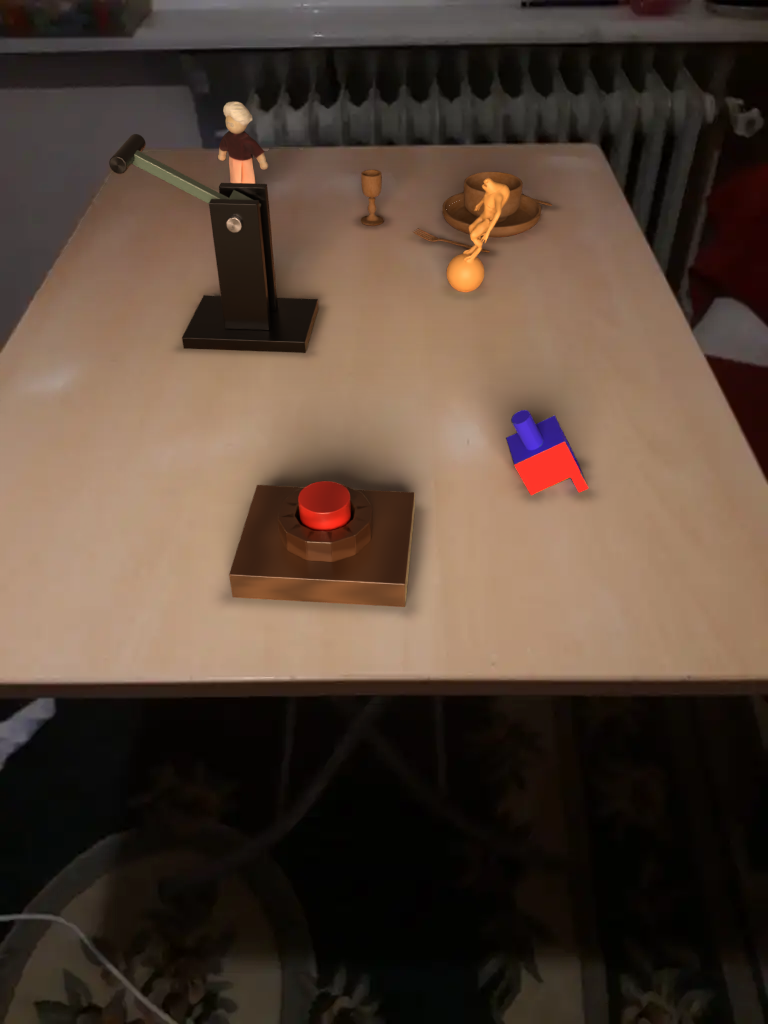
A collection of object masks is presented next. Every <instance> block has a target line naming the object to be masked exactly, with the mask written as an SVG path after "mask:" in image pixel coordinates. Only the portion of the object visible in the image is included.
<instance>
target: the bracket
mask: <svg viewBox="0 0 768 1024" xmlns="http://www.w3.org/2000/svg"><path fill="white" fill-rule="evenodd" d="M233 190H235V191H237V192H239V193H241V194H243V195H245V196H247V197H249V198H251V199H253V200H230V199H211V200H210V202H209V204H208V208H209V215H210V223H211V230H212V240H213V247H214V255H215V262H216V269H217V276H218V286H219V292H220V295H212V294H211V295H209V294H204V295H202V297H201V300H200V302H199V303H198V306H197V308H196V309H195V311H194V313H193V315H192V317H191V319H190V321H189V323H188V325H187V327H186V329H185V331H184V333H183V335H182V337H181V341H182V347H183V349H190V350H216V351H219V350H220V351H243V352H267V353H268V352H269V353H295V354H304V353H305V354H306V352H307V350H308V345H309V342H310V338H311V336H312V332H313V329H314V325H315V322H316V319H317V317H318V316H317V315H318V312H319V309H320V308H319V299H318V298H302V297H278V292H277V291H278V290H277V289H278V288H277V279H276V268H275V257H274V246H273V245H274V244H273V235H272V234H273V233H272V224H271V223H272V222H271V212H270V201H269V200H270V199H269V190H268V183H256V184H255V183H231V182H220V184H219V185H218V193H220V194H222V195H224V196H226V197H228V198H229V197H230V196H231V194H232V192H233ZM259 203H260V204H261V206H260V205H259Z"/></svg>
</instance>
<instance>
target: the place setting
mask: <svg viewBox="0 0 768 1024" xmlns="http://www.w3.org/2000/svg"><path fill="white" fill-rule="evenodd" d="M360 173H361V174H360V182H361V183H360V184H361V191H362V194H363V195H364V196H365V197H366V198H368V199H367V200H368V205H367V212H368V213H369V214H368V215H365V216H362V217H361V218H360V223H361V224H362V225H364V226H368V227H369V226H371V227H373V226H374V227H376V226H380V225H382V224H383V223H384V221H385V219H384V217H382V216H381V215H377V214H376V211H377V205H376V198H377V197H378V196H380V194H381V192H382V186H383V185H382V183H383V175H382V171H381V170H379V169H364V170H363V171H361V172H360ZM486 178H490V179H491V180H493V181H494V182H496V183H501V184H505V185H507V186H508V187H509V190H510V195H509V198H508V200H507V202H506V203H505V205H504V206H503V208H502V209H501V214H500V217H499V218H498V220H497V222H496V224H495V225H494V227H493V228H492V230H491V231H490V234H489V236H488V238H505V237H507V238H508V237H512V236H516V235H519V234H522V233H524V232H527V231H528V230H530V229H532V228H533V227H534V226H535V225H536V224H537V223H538V222H539V221H540V219H541V216H542V210H543V209H542V205H545V206H549V207H552V206H553V204H552V203H550V202H547V201H543V200H541V199H537V198H533V197H530V196H528V195H526V194H523V187H524V183H523V180H522V179H521V178H519V177H518V176H517V175H514V174H511V173H508V172H503V171H483V172H477V173H473V174H471V175H469V176H467V177H466V178H465V179H464V181H463V191H462V192H458V193H456V194H454V195H451V196H449V197H448V198H447V199H445V200H444V201H443V203H442V207H441V208H442V211H441V212H442V216H443V218H444V220H445V221H446V222H447V223H448V224H449V225H450V226H452V228H454V229H456V230H458V231H460V232H462V233H464V234H467V235H470V232H469V226H470V225H471V224H472V223H473V222H474V221H475V220H476V219H477V218H478V217H479V216H480V215H481V214H482V213H483V211H484V203H483V204H482V206H481V207H480V209H479V208H478V209H479V210H478V209H477V211H476V210H475V208H476V206H477V205H478V204H479V203H480V201H481V200H482V199H483V197H484V195H485V193H486V191H485V190H484V189H483V188H482V185H483V184H484V182H483V181H484V180H485V179H486ZM459 200H460V201H459ZM456 201H457V202H456ZM454 202H455V203H454ZM452 203H453V204H452ZM449 205H450V206H449ZM446 209H447V210H446ZM474 210H475V211H474ZM413 233H414V234H415V235H417V236H419V237H420V238H422V239H424V240H427V241H429V242H439V241H441V242H445V243H448V244H451V245H456V246H459V247H463V248H466V249H471V248H472V247H473V246H474V245H470V244H467V243H462V242H459V241H455V240H450V239H447V238H443V237H437V236H435V235H433V234H430V233H429V232H426V231H425V230H423V229H421V228H417V229H415V230H414V231H413ZM484 233H486V232H484ZM483 236H484V235H482V236H481V238H482V237H483ZM480 252H482V253H490V252H491V251H490V250H488V249H485V248H482V250H481V251H480Z"/></svg>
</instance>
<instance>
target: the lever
mask: <svg viewBox="0 0 768 1024" xmlns="http://www.w3.org/2000/svg"><path fill="white" fill-rule="evenodd" d="M146 145H147V144H146V140H145V137H143V136H142V135H140V134H137V133H134V134H131V135H130V136H129V137H128V138H127V140H126V141H125V142H124V143H123V144H122V145H121V146H120V147H119V149H118V150H117V151H116V152H114V153H113V155H112V156H111V158H110V159H109V161H108V165H109V168H110V169H111V171H112V172H113V173H115V174H119V175H123V174H124V173H126V172H127V170H129V168H130V167H131V165H133V166H135V167H137V168H138V169H140V170H143V171H144V172H146V173H149V174H150V175H152V176H154V177H156V178H158V179H160V180H162V181H164V182H166V183H168V184H170V185H171V186H173V187H175V188H176V189H180V190H181V191H183V192H185V193H187V194H189V195H191V196H192V197H194V198H197V199H199V200H200V201H202V202H204V203H206V204H208V205H209V202H210V200H211V199H230V200H253V199H251V198H249V197H247V196H245V195H243V194H241V193H239V192H237V191H235V190H233V192H232V194H231V196H230V197H229V198H228V197H226V196H224V195H222V194H220V193H219V191H216V190H215V189H213V188H211V187H209V186H207V185H205V184H203V183H201V182H200V181H197V180H195V179H194V178H191V177H190V176H188V175H186V174H184V173H182V172H181V171H178V170H177V169H174V168H173V167H171V166H169V165H168V164H165V163H164V162H161V161H159V160H157V159H156V158H153V157H152V156H150V155H148V154H146V153H144V152H143V151H144V150H145V149H146ZM259 205H260V206H261V204H260V203H259Z"/></svg>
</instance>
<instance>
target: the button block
mask: <svg viewBox="0 0 768 1024" xmlns="http://www.w3.org/2000/svg"><path fill="white" fill-rule="evenodd" d="M340 484H341V483H340ZM341 485H343V486H344V487H346V488H347V489H348V491H349V493H350V502H351V518H350V520H349V522H348V523H347V524H346V525H345V526H344V527H342V528H339V529H335V530H332V531H313V530H310V529H308V528H307V527H305V526H304V525H303V524H302V522H301V520H300V513H299V501H298V497H299V494H300V492H301V491H302V489H303V488H305V487H306V486H294V485H273V484H272V485H270V484H257V485H256V486H255V489H254V493H253V495H252V496H253V497H252V500H251V503H250V506H249V510H248V512H247V517H246V518H245V522H244V526H243V528H242V531H241V535H240V538H239V542H238V545H237V548H236V551H235V554H234V557H233V560H232V564H231V567H230V571H229V574H228V577H229V582H230V583H229V584H230V589H231V595H232V598H238V599H256V600H257V599H258V600H273V601H289V602H290V601H291V602H306V603H307V602H309V603H327V604H343V605H344V604H346V605H362V606H379V607H397V608H405V607H406V605H407V604H406V602H407V594H408V593H407V592H408V582H409V573H410V563H411V555H412V554H411V552H412V542H413V532H414V521H415V507H416V506H415V502H416V499H415V497H416V495H415V491H402V490H401V491H398V490H396V491H395V490H378V489H377V490H374V489H359V488H357V489H356V488H353V487H350V486H348V485H346V484H343V483H342V484H341Z"/></svg>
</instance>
